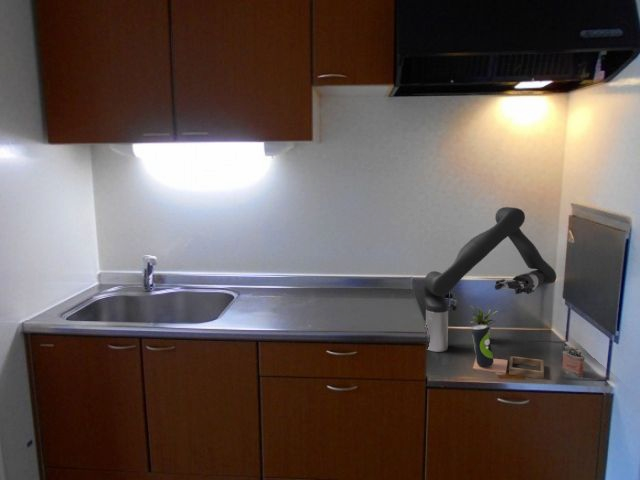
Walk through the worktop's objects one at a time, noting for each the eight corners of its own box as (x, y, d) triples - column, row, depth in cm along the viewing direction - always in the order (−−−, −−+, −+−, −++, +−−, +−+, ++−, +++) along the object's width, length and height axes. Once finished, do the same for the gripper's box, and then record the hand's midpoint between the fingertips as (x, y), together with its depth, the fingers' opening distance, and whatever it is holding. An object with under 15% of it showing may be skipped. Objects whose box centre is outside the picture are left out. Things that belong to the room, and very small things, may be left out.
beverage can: (475, 363, 197) (469, 326, 196) (491, 360, 197) (485, 323, 196) (479, 368, 191) (473, 330, 190) (496, 365, 191) (489, 327, 190)
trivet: (472, 369, 192) (472, 367, 192) (476, 357, 203) (476, 356, 203) (505, 373, 188) (505, 372, 188) (507, 361, 199) (507, 360, 198)
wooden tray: (508, 374, 187) (508, 367, 187) (510, 362, 198) (510, 356, 198) (543, 379, 183) (543, 372, 182) (543, 366, 194) (543, 360, 193)
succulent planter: (585, 376, 184) (587, 350, 183) (579, 378, 183) (581, 352, 181) (565, 368, 191) (566, 343, 190) (559, 370, 190) (561, 345, 188)
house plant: (455, 339, 223) (456, 304, 221) (474, 332, 232) (475, 298, 229) (483, 349, 212) (484, 312, 209) (502, 341, 220) (503, 305, 217)
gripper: (509, 271, 213) (490, 277, 202) (542, 277, 202) (524, 283, 192) (508, 288, 214) (489, 294, 203) (541, 294, 203) (522, 302, 193)
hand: (506, 289), depth 197 cm, fingers open, 8 cm apart
